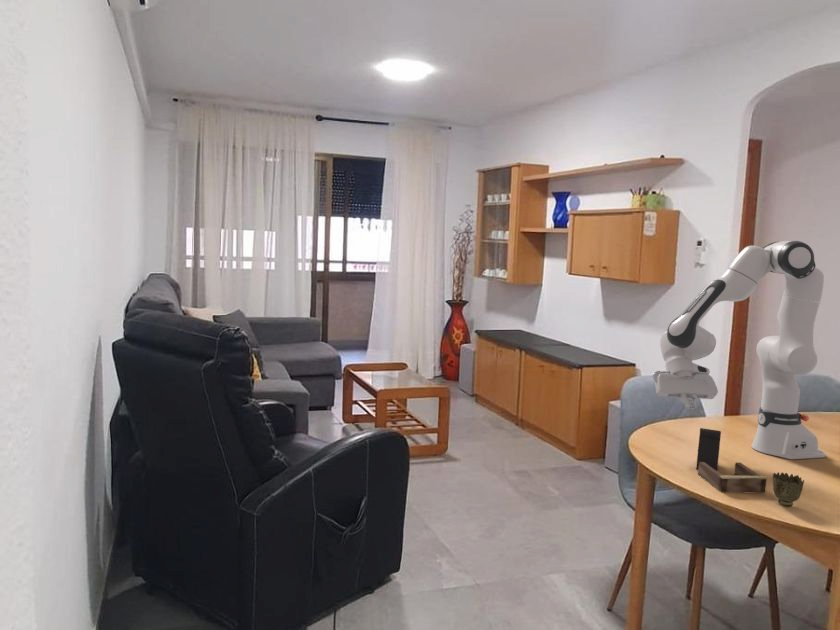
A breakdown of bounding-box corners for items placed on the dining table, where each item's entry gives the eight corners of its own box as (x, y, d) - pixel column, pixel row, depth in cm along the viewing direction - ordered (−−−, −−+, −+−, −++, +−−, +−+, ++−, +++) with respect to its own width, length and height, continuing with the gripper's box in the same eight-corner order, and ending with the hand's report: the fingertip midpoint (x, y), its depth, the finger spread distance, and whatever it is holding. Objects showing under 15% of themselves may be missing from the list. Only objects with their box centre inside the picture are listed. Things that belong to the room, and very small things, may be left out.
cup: (805, 512, 175) (808, 483, 174) (775, 509, 176) (778, 480, 175) (795, 501, 182) (798, 473, 181) (766, 498, 183) (769, 470, 182)
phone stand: (716, 473, 202) (720, 435, 200) (695, 469, 204) (699, 432, 203) (717, 464, 210) (721, 427, 208) (697, 460, 212) (700, 424, 211)
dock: (739, 475, 201) (740, 461, 200) (765, 492, 187) (766, 477, 187) (697, 474, 200) (699, 460, 199) (721, 492, 186) (722, 477, 186)
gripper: (655, 365, 222) (664, 401, 214) (713, 368, 224) (725, 404, 215) (648, 375, 227) (657, 411, 219) (705, 378, 229) (716, 413, 220)
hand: (691, 407), depth 217 cm, fingers closed
